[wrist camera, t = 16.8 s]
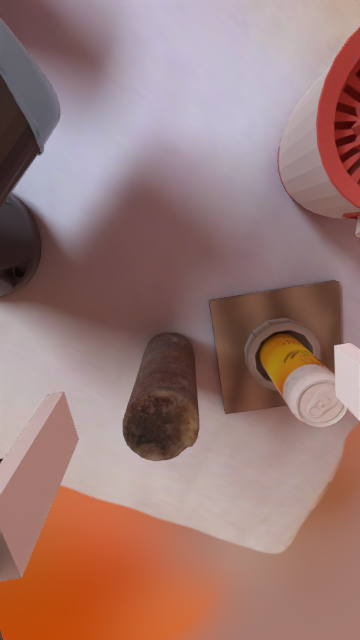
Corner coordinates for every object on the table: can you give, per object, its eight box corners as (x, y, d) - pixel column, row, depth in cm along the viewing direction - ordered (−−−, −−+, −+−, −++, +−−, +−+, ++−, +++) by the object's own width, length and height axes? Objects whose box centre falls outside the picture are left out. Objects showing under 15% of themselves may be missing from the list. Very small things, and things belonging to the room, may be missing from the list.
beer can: (307, 347, 47) (365, 398, 32) (280, 378, 48) (324, 440, 34) (276, 323, 46) (321, 365, 32) (249, 356, 47) (280, 410, 33)
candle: (137, 337, 48) (109, 409, 28) (183, 321, 47) (187, 383, 28) (155, 381, 50) (141, 477, 30) (200, 366, 49) (215, 454, 30)
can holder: (224, 409, 51) (227, 423, 47) (209, 300, 46) (211, 305, 43) (338, 393, 50) (350, 405, 47) (334, 280, 46) (347, 284, 42)
